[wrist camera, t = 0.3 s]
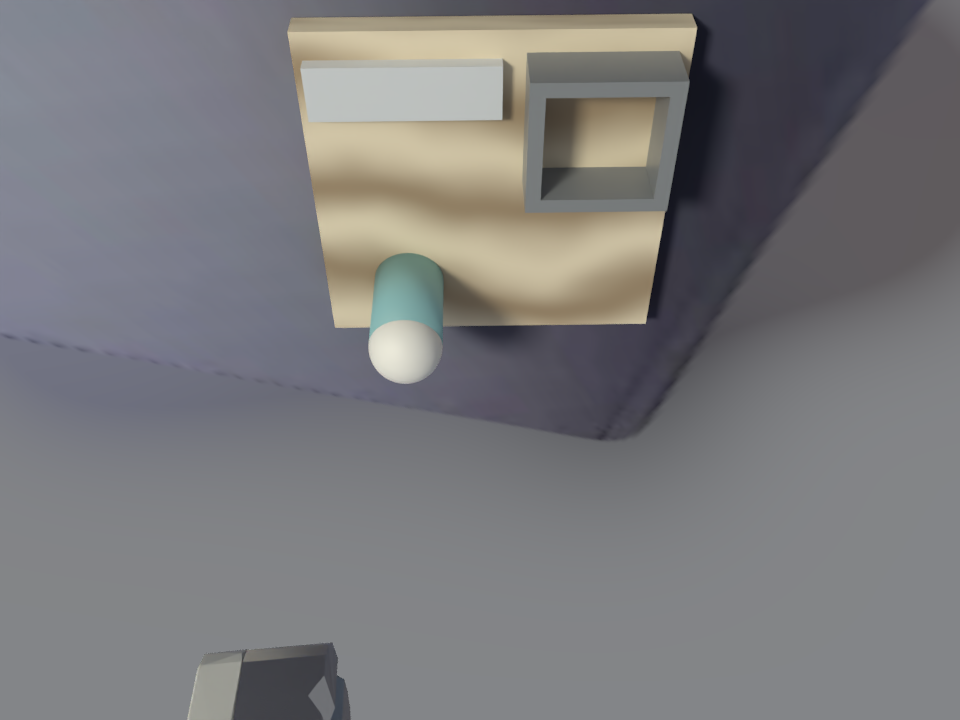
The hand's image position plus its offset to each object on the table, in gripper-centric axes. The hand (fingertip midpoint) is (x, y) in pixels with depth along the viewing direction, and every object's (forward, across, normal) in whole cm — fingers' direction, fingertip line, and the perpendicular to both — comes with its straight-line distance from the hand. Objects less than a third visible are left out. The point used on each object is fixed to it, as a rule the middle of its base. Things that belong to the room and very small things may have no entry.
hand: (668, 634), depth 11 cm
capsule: (+41, +6, +21) cm, 46 cm away
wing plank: (+39, +4, +8) cm, 40 cm away
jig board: (+41, 0, +15) cm, 44 cm away
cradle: (+39, -6, +11) cm, 41 cm away
